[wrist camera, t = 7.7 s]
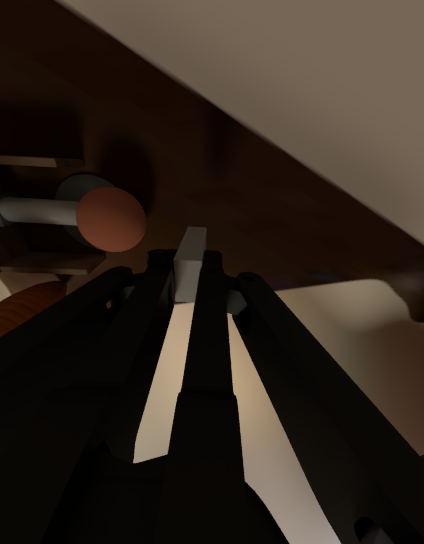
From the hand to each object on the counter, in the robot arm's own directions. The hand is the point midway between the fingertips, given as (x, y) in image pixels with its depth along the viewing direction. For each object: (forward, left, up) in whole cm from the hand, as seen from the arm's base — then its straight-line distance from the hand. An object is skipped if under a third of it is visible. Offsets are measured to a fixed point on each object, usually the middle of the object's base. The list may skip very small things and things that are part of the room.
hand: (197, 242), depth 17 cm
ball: (+6, +6, -3) cm, 9 cm away
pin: (+8, +9, -5) cm, 13 cm away
